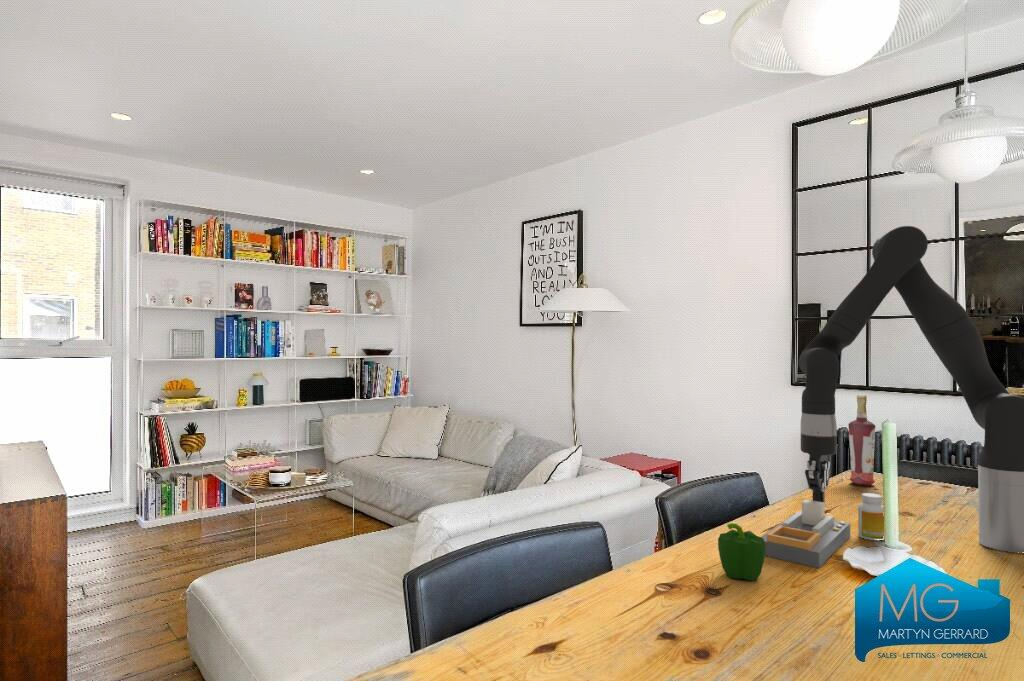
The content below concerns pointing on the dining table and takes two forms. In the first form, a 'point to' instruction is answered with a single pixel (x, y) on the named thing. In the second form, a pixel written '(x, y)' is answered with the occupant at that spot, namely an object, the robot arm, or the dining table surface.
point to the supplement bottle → (871, 517)
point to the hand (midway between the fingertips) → (818, 506)
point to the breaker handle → (812, 512)
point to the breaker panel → (806, 540)
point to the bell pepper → (741, 553)
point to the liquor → (862, 446)
